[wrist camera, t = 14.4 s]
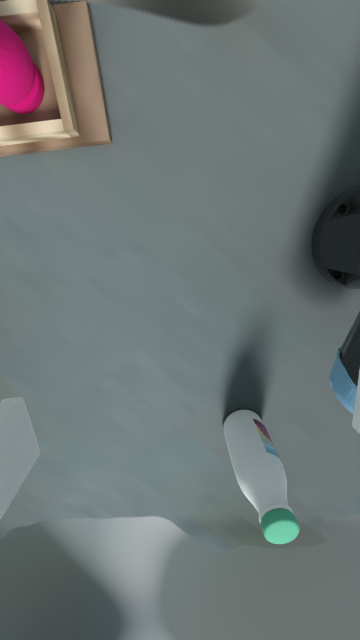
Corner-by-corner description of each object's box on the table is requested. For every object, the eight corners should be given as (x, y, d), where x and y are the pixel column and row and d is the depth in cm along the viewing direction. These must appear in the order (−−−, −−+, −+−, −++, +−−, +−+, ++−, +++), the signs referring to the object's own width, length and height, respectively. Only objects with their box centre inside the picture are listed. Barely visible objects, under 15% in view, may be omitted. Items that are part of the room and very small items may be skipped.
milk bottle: (222, 441, 54) (251, 556, 35) (222, 409, 51) (252, 514, 32) (260, 438, 54) (309, 551, 35) (262, 406, 51) (315, 509, 32)
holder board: (89, 10, 32) (78, -19, 29) (112, 143, 37) (105, 132, 33) (-73, 31, 32) (-105, 4, 29) (-31, 160, 37) (-54, 152, 33)
